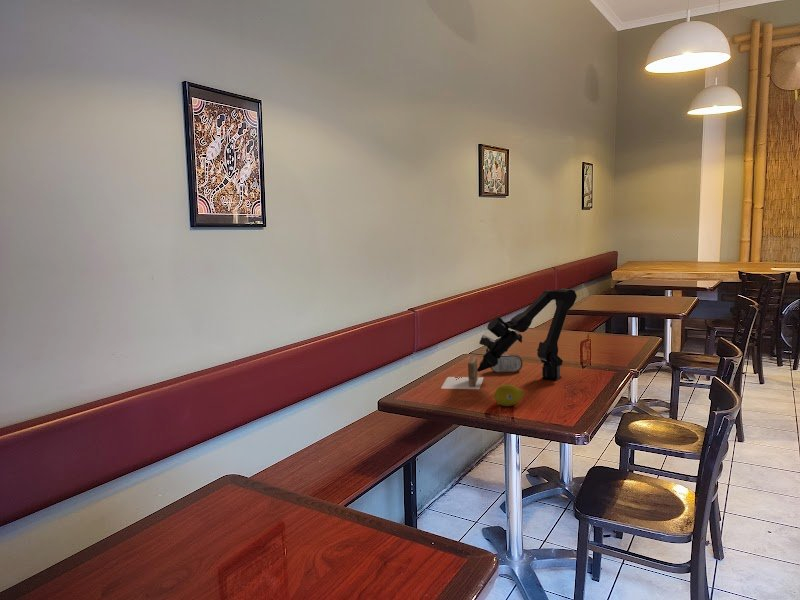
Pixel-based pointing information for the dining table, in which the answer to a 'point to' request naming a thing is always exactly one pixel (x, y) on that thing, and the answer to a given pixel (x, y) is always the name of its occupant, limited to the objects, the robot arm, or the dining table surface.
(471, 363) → the board
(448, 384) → the mat
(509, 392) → the lemon
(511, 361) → the tin
